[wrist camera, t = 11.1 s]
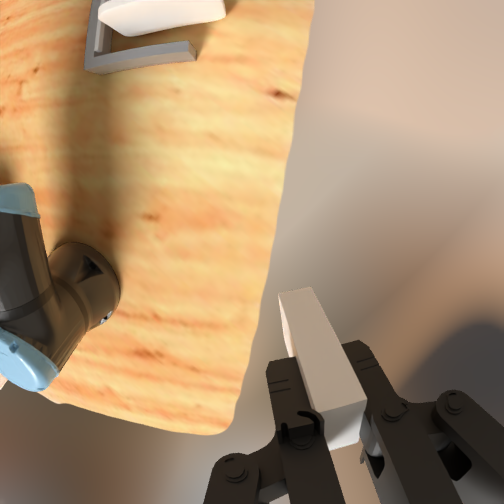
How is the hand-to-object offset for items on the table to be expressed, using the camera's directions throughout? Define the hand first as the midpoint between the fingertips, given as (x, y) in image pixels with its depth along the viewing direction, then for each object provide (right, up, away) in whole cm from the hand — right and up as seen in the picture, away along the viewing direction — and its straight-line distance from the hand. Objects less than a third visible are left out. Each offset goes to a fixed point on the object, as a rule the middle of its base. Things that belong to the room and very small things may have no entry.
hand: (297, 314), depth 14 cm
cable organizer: (-13, +38, +16) cm, 44 cm away
